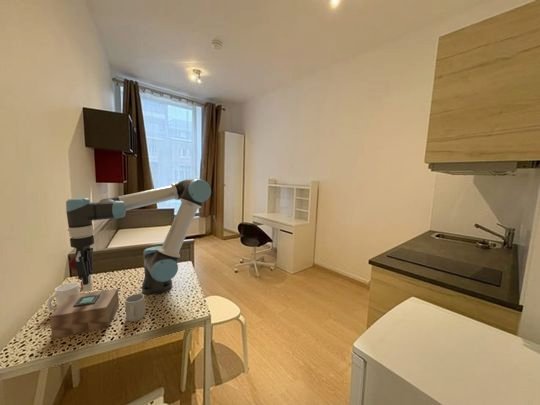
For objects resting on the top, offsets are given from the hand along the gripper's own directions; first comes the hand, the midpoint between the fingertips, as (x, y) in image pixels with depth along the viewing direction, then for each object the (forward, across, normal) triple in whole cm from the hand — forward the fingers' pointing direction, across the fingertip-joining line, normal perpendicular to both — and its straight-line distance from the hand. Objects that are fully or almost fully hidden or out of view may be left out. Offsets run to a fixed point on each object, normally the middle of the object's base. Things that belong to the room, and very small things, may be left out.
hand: (87, 290), depth 95 cm
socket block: (+14, 0, -1) cm, 14 cm away
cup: (+14, +5, +17) cm, 23 cm away
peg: (+13, 0, -1) cm, 13 cm away
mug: (+14, -14, -15) cm, 24 cm away
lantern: (+14, -34, -15) cm, 39 cm away
